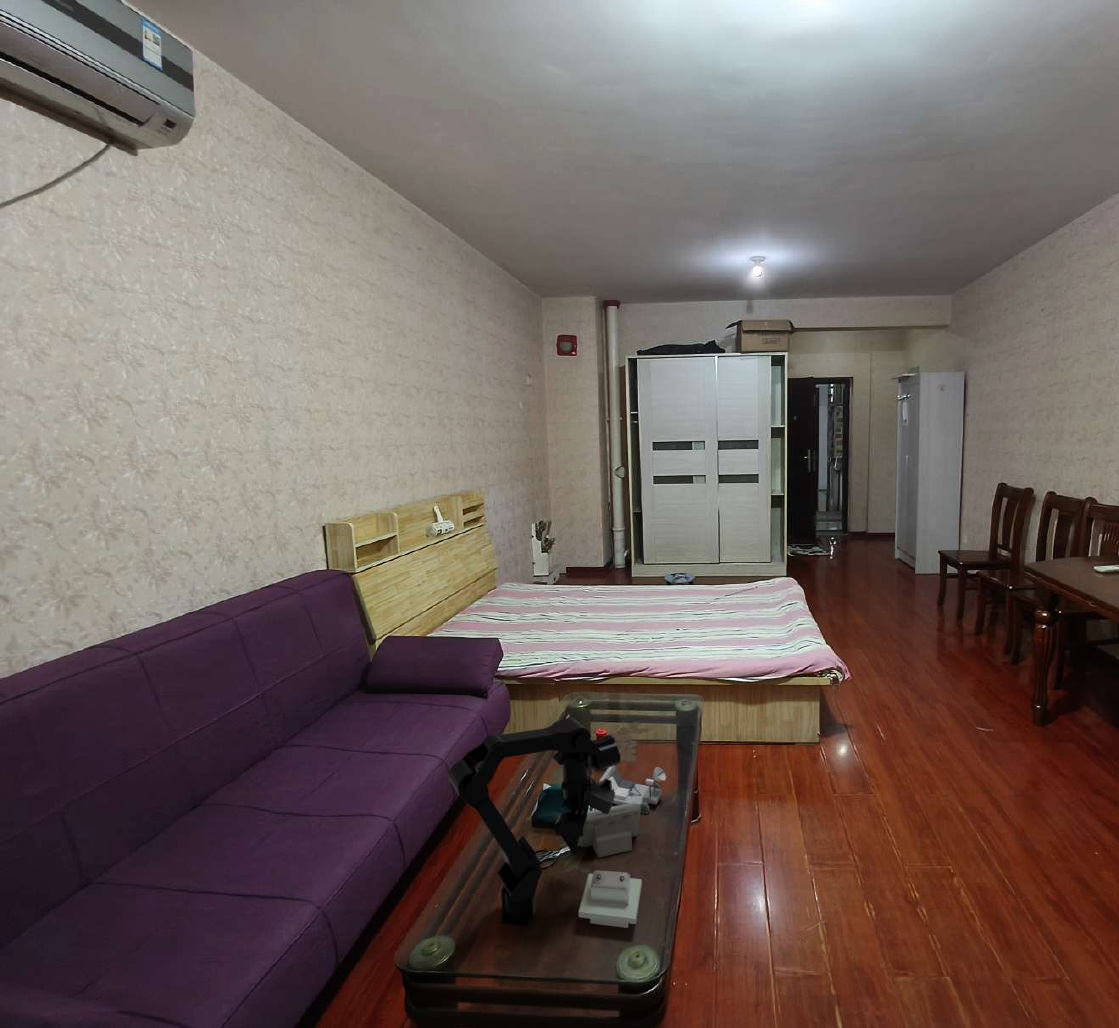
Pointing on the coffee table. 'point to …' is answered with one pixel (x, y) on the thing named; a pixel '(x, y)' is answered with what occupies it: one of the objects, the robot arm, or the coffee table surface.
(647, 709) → the coffee table surface
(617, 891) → the block
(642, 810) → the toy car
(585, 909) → the stand
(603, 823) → the digital clock
